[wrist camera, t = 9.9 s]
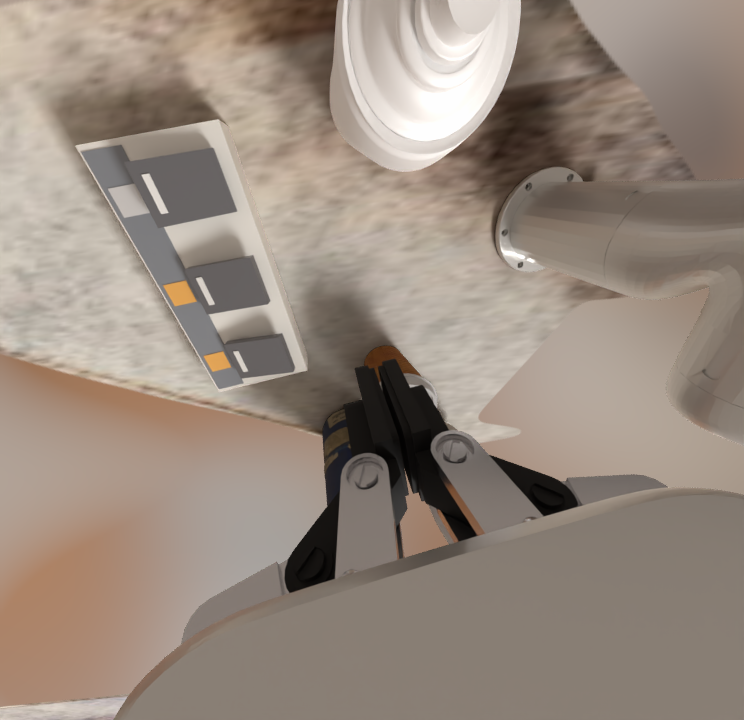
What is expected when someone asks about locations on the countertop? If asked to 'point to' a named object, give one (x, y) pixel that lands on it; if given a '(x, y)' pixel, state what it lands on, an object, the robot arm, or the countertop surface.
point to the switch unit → (198, 245)
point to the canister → (335, 451)
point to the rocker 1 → (182, 186)
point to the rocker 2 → (260, 356)
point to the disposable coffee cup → (408, 370)
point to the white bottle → (418, 74)
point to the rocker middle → (228, 284)
